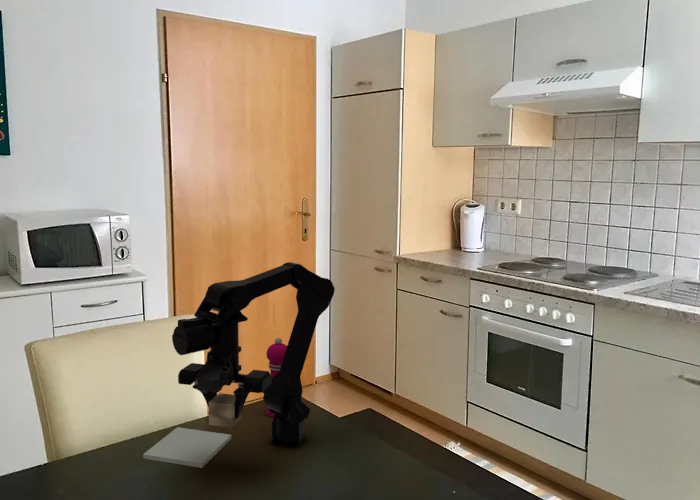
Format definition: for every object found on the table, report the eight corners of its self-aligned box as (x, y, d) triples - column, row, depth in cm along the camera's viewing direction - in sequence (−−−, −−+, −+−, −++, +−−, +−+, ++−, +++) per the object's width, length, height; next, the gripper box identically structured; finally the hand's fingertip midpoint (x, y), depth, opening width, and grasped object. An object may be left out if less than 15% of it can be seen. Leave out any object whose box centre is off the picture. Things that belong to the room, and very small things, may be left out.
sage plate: (231, 438, 139) (231, 434, 139) (202, 467, 126) (201, 463, 126) (177, 431, 143) (177, 427, 143) (143, 458, 129) (143, 454, 129)
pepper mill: (287, 420, 150) (287, 343, 147) (260, 417, 152) (259, 340, 149) (295, 408, 157) (296, 334, 154) (269, 406, 159) (269, 332, 156)
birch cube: (241, 418, 127) (241, 395, 127) (231, 427, 122) (231, 404, 122) (219, 415, 128) (219, 393, 128) (209, 424, 124) (208, 401, 123)
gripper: (162, 352, 118) (164, 427, 120) (250, 361, 113) (251, 439, 115) (190, 336, 128) (192, 405, 131) (272, 344, 124) (272, 416, 126)
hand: (225, 416), depth 125 cm, fingers closed on birch cube, 5 cm apart
